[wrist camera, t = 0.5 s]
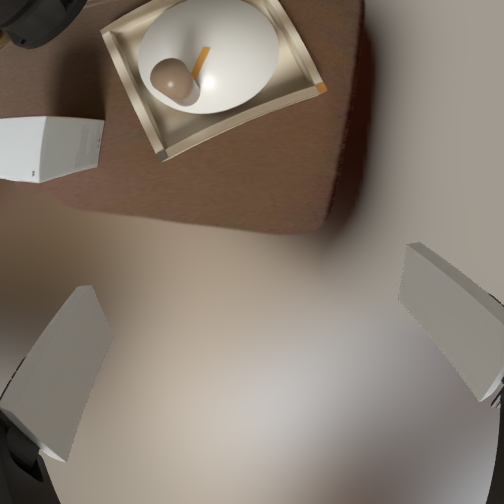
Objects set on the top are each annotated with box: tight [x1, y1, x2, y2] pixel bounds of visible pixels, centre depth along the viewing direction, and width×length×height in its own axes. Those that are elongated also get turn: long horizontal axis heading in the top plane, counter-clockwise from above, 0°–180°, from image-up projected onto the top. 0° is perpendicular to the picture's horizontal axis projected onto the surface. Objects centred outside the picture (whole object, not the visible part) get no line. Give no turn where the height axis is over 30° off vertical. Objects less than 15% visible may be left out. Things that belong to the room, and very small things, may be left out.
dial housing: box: [100, 0, 327, 162], centre depth 24 cm, size 20×20×4 cm
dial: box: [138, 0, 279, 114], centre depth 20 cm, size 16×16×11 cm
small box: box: [0, 115, 105, 183], centre depth 22 cm, size 8×6×13 cm
